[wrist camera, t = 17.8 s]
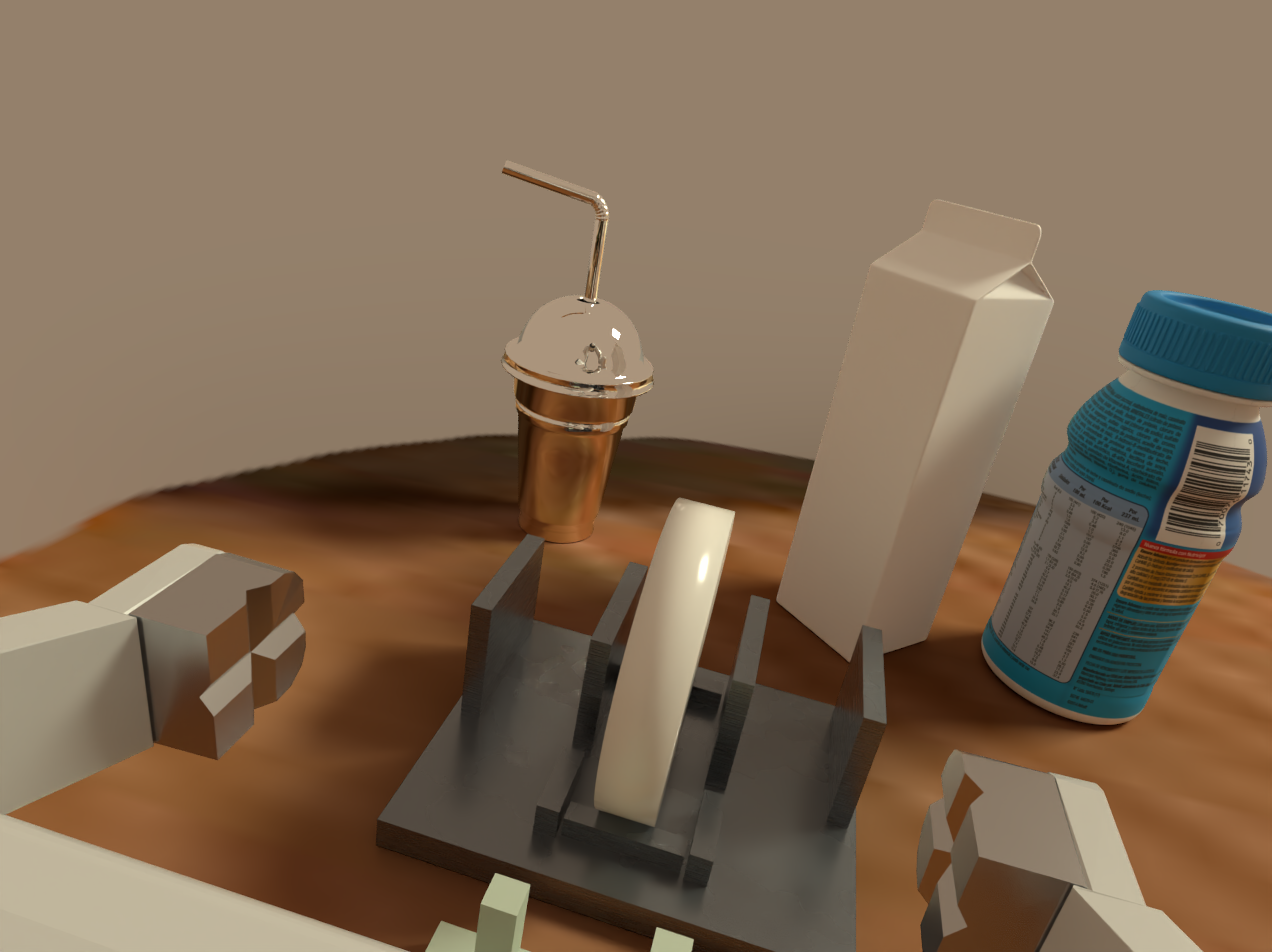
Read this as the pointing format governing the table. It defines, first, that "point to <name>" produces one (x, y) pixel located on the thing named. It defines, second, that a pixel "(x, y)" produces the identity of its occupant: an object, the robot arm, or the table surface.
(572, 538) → the cup with straw
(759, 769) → the dish rack
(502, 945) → the plate stand
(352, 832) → the table surface
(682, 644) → the plate
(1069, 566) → the beverage bottle
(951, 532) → the milk
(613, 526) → the table surface
